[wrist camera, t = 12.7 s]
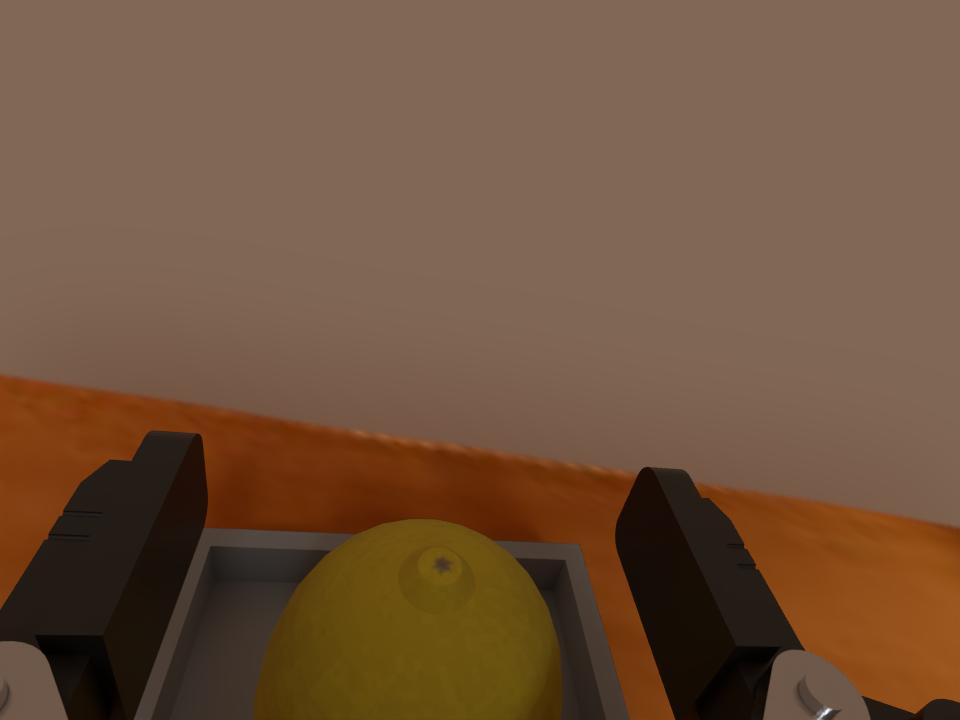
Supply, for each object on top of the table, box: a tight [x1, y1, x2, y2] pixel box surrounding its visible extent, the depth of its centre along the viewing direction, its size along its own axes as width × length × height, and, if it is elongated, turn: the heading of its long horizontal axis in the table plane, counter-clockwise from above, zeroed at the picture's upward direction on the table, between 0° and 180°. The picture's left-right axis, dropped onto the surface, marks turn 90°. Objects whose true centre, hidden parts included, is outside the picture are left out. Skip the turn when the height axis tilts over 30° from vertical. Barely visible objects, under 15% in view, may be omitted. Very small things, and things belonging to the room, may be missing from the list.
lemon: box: [254, 519, 563, 720], centre depth 11 cm, size 6×6×8 cm
